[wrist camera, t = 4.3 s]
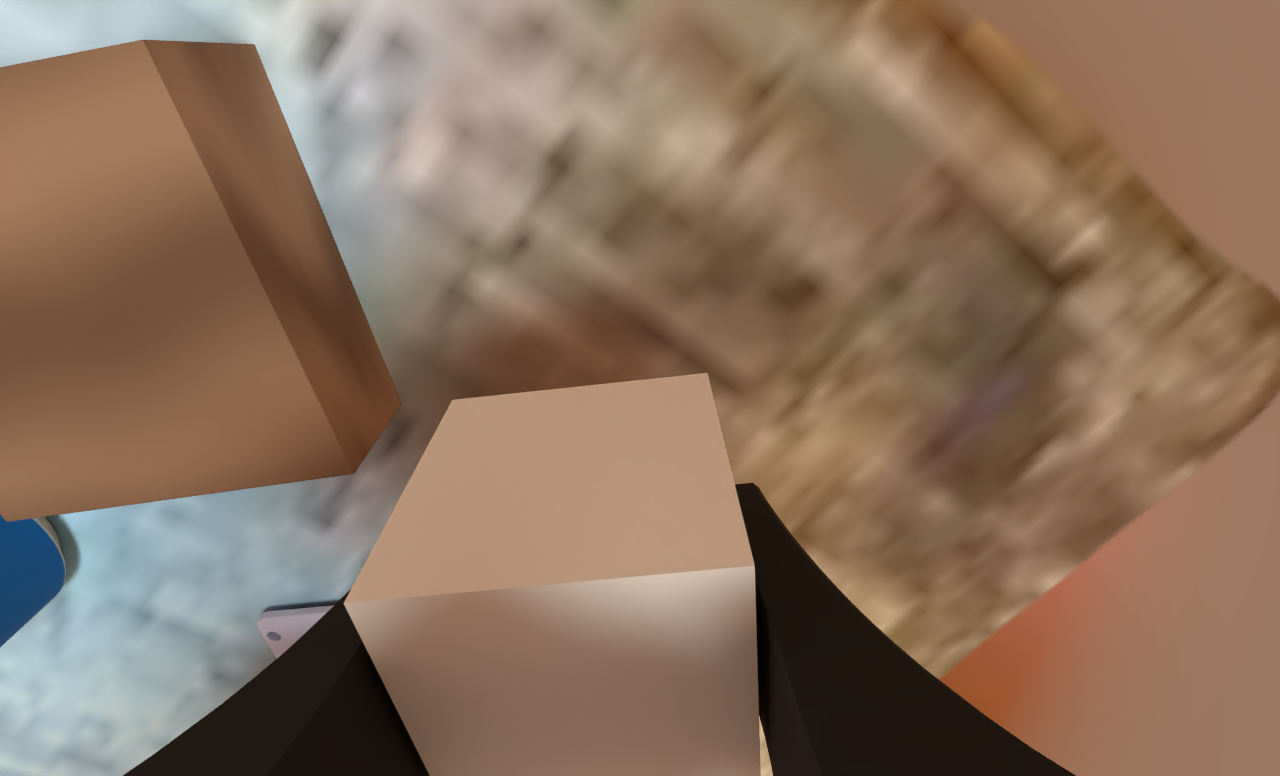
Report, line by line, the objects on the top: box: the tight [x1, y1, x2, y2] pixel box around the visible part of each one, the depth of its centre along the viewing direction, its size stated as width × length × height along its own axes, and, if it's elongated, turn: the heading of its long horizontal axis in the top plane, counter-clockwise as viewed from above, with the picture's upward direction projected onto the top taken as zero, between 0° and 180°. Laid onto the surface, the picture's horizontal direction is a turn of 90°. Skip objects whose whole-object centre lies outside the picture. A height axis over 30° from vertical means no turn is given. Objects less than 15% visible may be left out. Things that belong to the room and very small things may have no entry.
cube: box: [344, 373, 761, 776], centre depth 11 cm, size 5×5×5 cm
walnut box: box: [0, 40, 401, 522], centre depth 15 cm, size 10×10×4 cm
